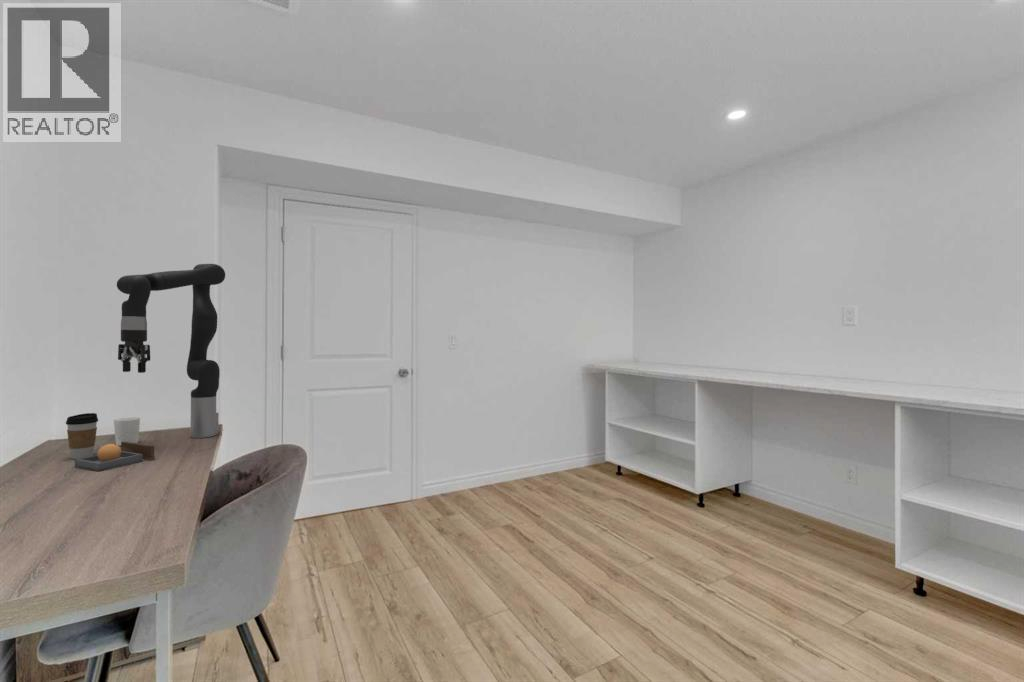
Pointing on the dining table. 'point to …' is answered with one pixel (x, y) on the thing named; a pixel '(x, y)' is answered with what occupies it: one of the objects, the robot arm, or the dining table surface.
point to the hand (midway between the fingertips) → (134, 372)
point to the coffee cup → (82, 434)
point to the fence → (139, 449)
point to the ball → (109, 452)
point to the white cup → (127, 429)
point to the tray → (99, 465)
